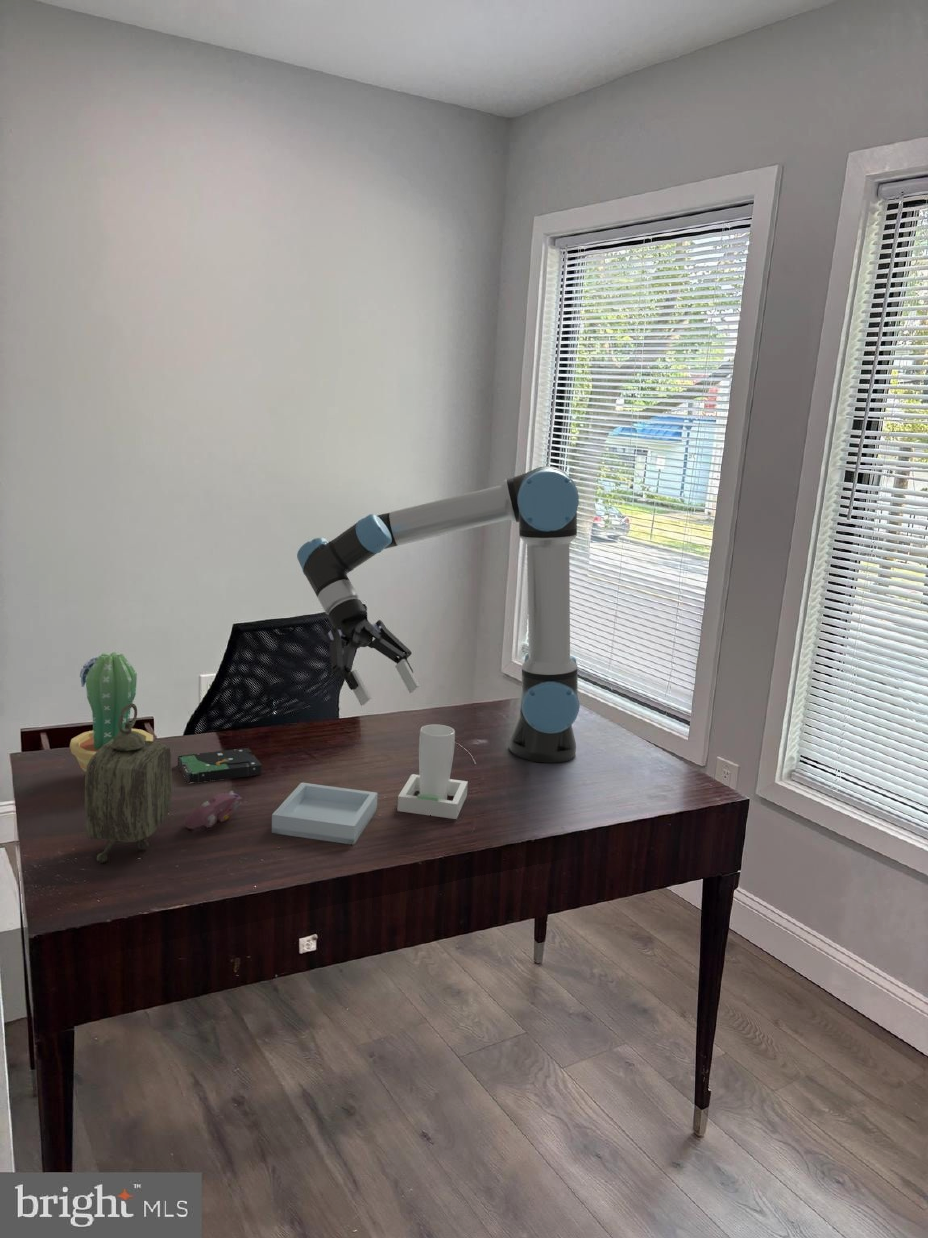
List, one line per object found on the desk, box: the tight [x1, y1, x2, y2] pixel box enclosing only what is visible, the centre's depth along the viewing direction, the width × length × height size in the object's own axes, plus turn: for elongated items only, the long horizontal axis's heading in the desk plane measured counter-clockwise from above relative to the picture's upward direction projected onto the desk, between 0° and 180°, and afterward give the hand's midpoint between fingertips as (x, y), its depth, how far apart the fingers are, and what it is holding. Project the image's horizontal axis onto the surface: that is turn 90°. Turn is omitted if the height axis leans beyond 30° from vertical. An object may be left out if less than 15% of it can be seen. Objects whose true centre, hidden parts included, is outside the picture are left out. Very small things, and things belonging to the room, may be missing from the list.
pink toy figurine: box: [183, 790, 244, 830], centre depth 164 cm, size 10×5×7 cm, turn 148°
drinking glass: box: [418, 723, 456, 800], centre depth 178 cm, size 7×7×15 cm
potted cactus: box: [69, 652, 154, 774], centre depth 177 cm, size 15×15×25 cm
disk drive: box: [177, 747, 263, 784], centre depth 188 cm, size 10×3×15 cm
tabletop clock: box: [84, 702, 172, 864], centre depth 151 cm, size 14×9×25 cm, turn 178°
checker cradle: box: [396, 773, 469, 820], centre depth 179 cm, size 11×11×4 cm
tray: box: [271, 782, 379, 846], centre depth 168 cm, size 15×15×4 cm
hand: (391, 695), depth 183 cm, fingers open, 13 cm apart
